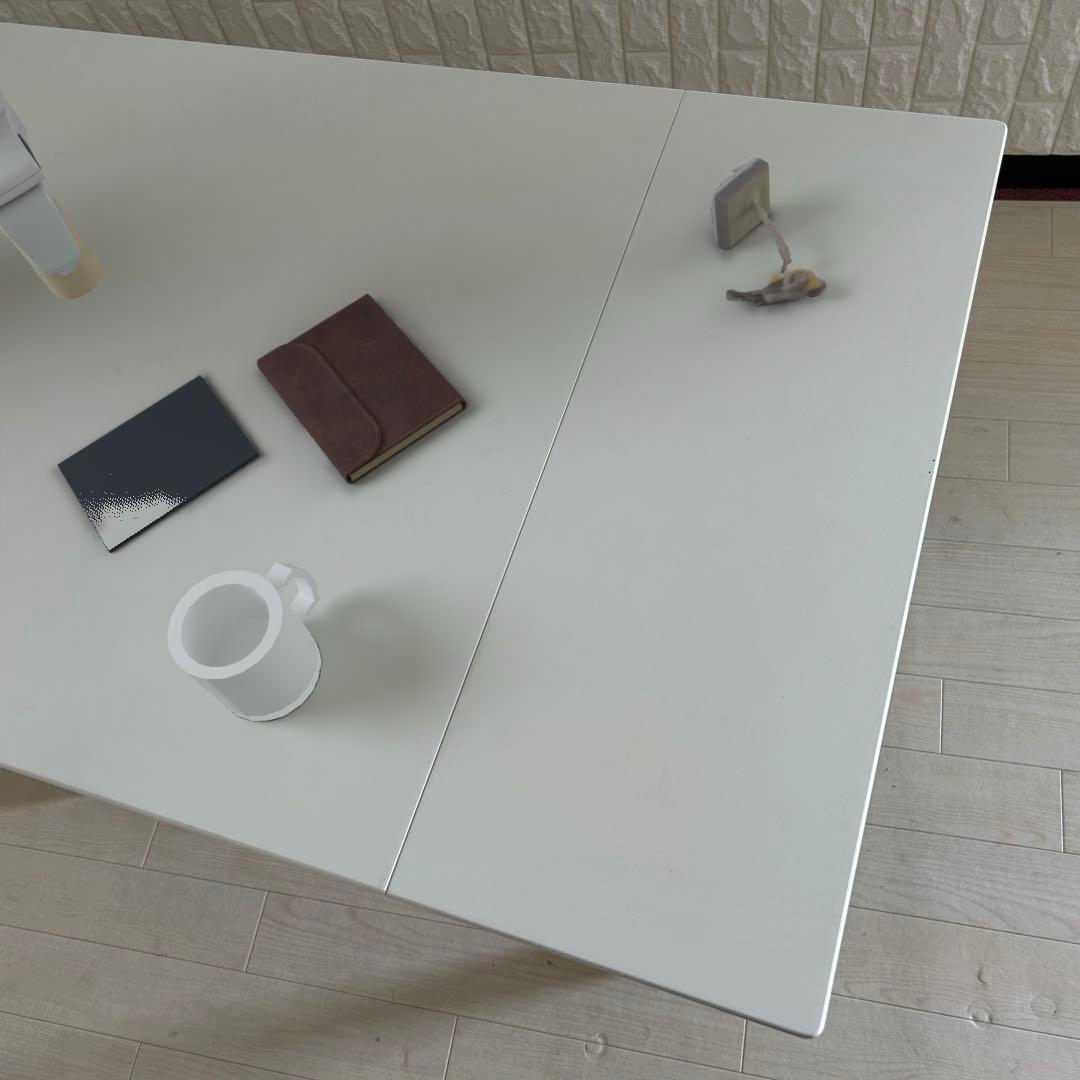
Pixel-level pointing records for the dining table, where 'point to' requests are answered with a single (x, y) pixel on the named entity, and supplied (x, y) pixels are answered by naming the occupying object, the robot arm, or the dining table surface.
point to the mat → (161, 454)
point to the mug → (247, 638)
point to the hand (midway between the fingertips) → (54, 250)
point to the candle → (78, 279)
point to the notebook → (360, 387)
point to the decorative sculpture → (738, 213)
